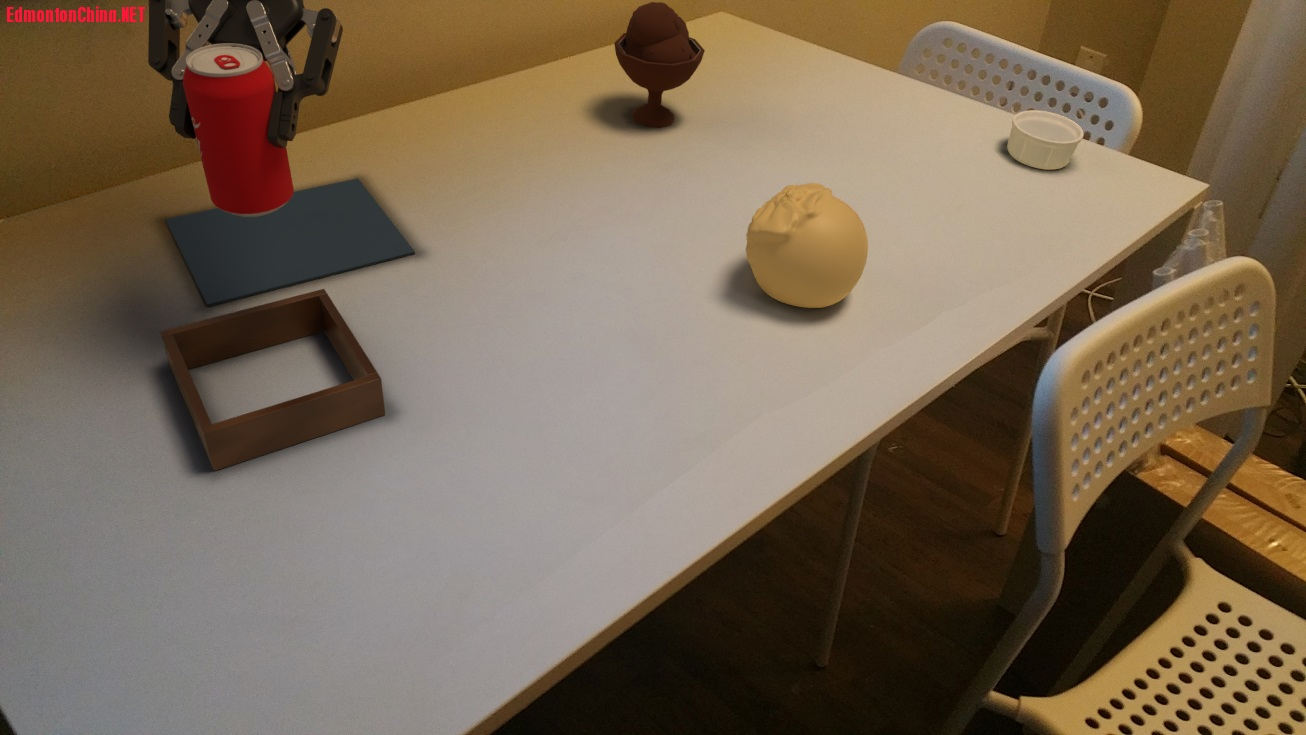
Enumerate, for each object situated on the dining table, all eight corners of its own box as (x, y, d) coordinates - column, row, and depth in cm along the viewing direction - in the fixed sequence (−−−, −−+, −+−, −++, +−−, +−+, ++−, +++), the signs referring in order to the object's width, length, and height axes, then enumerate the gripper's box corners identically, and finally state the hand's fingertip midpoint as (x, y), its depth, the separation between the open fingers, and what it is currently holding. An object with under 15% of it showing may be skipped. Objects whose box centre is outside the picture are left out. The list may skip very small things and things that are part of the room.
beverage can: (276, 174, 82) (250, 34, 74) (308, 208, 79) (284, 65, 71) (200, 194, 79) (164, 49, 71) (230, 231, 75) (196, 83, 68)
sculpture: (765, 243, 106) (782, 153, 99) (870, 280, 103) (895, 190, 96) (720, 294, 98) (735, 200, 91) (832, 337, 95) (857, 242, 88)
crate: (214, 471, 75) (203, 433, 72) (170, 368, 83) (159, 331, 81) (385, 414, 81) (381, 378, 79) (329, 323, 90) (324, 288, 87)
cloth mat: (207, 306, 90) (207, 304, 90) (165, 221, 100) (165, 218, 99) (415, 254, 99) (415, 251, 99) (358, 180, 109) (358, 178, 109)
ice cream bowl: (697, 140, 123) (712, 22, 114) (608, 133, 123) (616, 13, 113) (694, 102, 131) (708, -11, 122) (611, 96, 131) (618, -19, 121)
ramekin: (1062, 180, 124) (1075, 149, 121) (994, 157, 127) (1004, 126, 124) (1078, 154, 130) (1091, 124, 127) (1013, 133, 133) (1023, 103, 130)
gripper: (139, -113, 71) (107, 114, 69) (340, -92, 71) (312, 134, 70) (185, -60, 78) (157, 146, 77) (367, -41, 79) (342, 164, 77)
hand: (231, 139), depth 73 cm, fingers closed on beverage can, 6 cm apart
